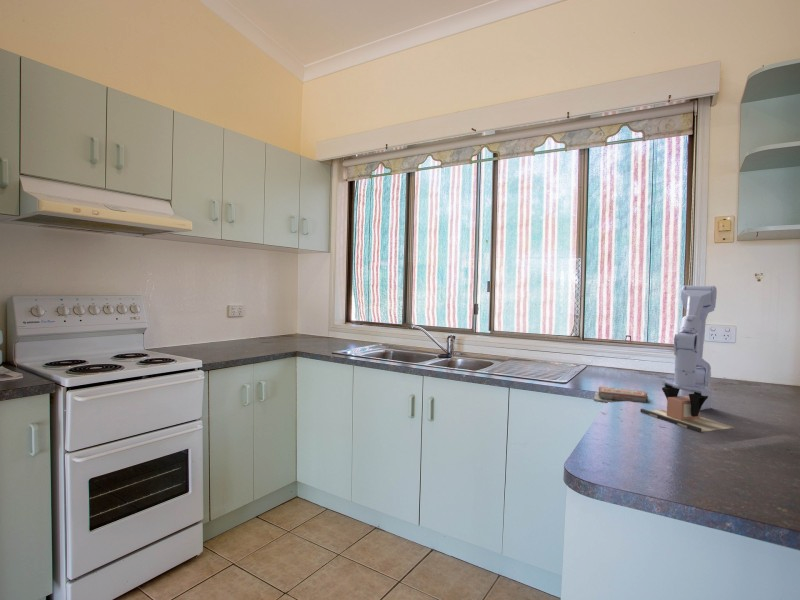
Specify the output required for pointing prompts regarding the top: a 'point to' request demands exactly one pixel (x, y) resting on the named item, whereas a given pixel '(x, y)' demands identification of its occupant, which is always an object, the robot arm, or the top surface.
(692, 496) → the top surface
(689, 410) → the carton
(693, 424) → the shelf board
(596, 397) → the packaged product
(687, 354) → the robot arm
